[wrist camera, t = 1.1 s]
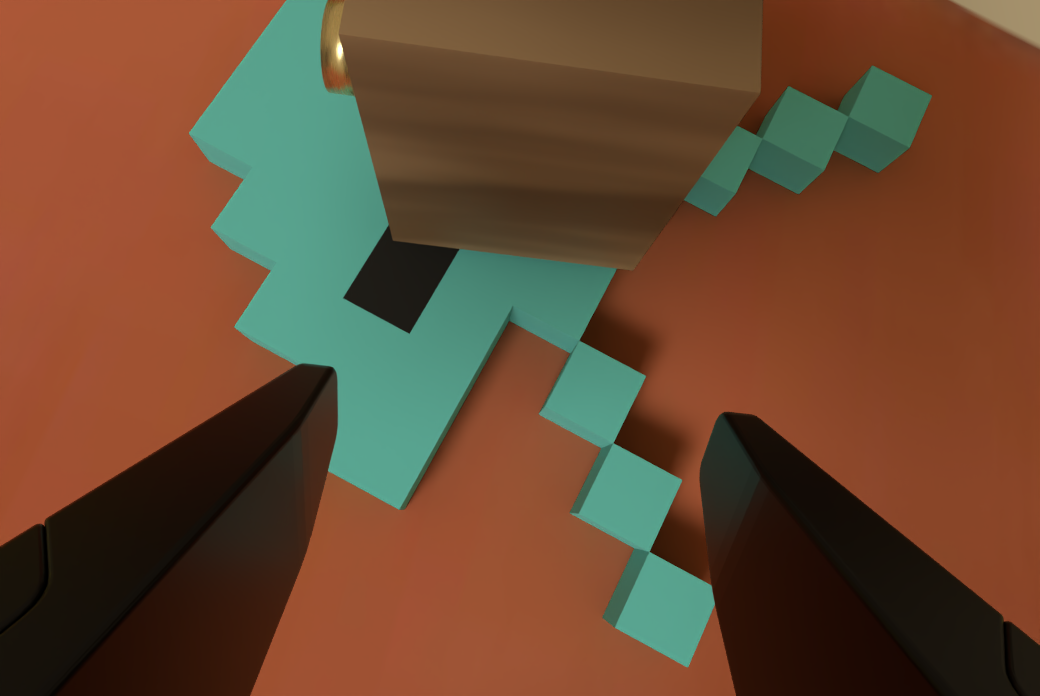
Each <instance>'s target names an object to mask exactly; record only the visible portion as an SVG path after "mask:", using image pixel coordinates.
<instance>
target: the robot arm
mask: <svg viewBox="0 0 1040 696" xmlns="http://www.w3.org/2000/svg"><path fill="white" fill-rule="evenodd" d="M337 429H338V380H337V372H336V370H335V369H334V368H333V367H331V366H325V365H316V364H308V363H301V364H298V365H296V366H295V367H293V368H291V369H290V370H288V371H286V372H285V373H283V374H282V375H280V376H278V377H277V378H275V379H273V380H272V381H270V382H268V383H267V384H265V385H264V386H262V387H260V388H259V389H257V390H255V391H254V392H252V393H250V394H249V395H247V396H246V397H244V398H242V399H241V400H239V401H237V402H236V403H234V404H232V405H231V406H229V407H228V408H226V409H224V410H223V411H221V412H219V413H218V414H216V415H214V416H213V417H211V418H210V419H208V420H206V421H205V422H203V423H201V424H200V425H198V426H197V427H195V428H193V429H192V430H190V431H188V432H187V433H185V434H183V435H182V436H180V437H179V438H177V439H175V440H174V441H172V442H170V443H169V444H167V445H165V446H164V447H162V448H161V449H159V450H157V451H156V452H154V453H152V454H151V455H149V456H147V457H146V458H144V459H143V460H141V461H139V462H138V463H136V464H134V465H133V466H131V467H129V468H128V469H126V470H125V471H123V472H121V473H120V474H118V475H116V476H115V477H113V478H112V479H110V480H108V481H107V482H105V483H103V484H102V485H100V486H98V487H97V488H95V489H94V490H92V491H90V492H89V493H87V494H85V495H84V496H82V497H80V498H79V499H77V500H76V501H74V502H72V503H71V504H69V505H67V506H66V507H64V508H62V509H61V510H59V511H58V512H56V513H54V514H53V515H51V516H49V517H48V518H46V520H45V522H44V525H45V527H44V525H42V524H36V525H34V526H33V527H31V528H29V529H28V530H26V531H24V532H23V533H21V534H19V535H18V536H16V537H15V538H13V539H11V540H10V541H8V542H6V543H5V544H3V545H1V546H0V696H250V695H251V692H252V690H253V687H254V685H255V682H256V680H257V677H258V674H259V672H260V669H261V667H262V664H263V662H264V659H265V657H266V654H267V652H268V649H269V647H270V644H271V642H272V639H273V637H274V634H275V632H276V629H277V627H278V624H279V621H280V619H281V616H282V614H283V611H284V609H285V606H286V604H287V601H288V599H289V596H290V594H291V591H292V589H293V586H294V584H295V581H296V579H297V576H298V574H299V571H300V568H301V566H302V563H303V560H304V557H305V554H306V552H307V548H308V545H309V541H310V538H311V534H312V531H313V527H314V523H315V519H316V515H317V511H318V507H319V504H320V500H321V496H322V492H323V488H324V484H325V480H326V476H327V472H328V469H329V465H330V461H331V457H332V453H333V449H334V445H335V441H336V436H337ZM700 489H701V498H702V507H703V516H704V525H705V534H706V543H707V552H708V561H709V570H710V578H711V585H712V592H713V597H714V602H715V607H716V612H717V616H718V620H719V624H720V629H721V633H722V637H723V642H724V646H725V650H726V654H727V659H728V663H729V667H730V672H731V676H732V680H733V684H734V689H735V693H736V696H1040V645H1039V644H1037V643H1036V642H1035V641H1034V640H1032V639H1031V638H1030V637H1029V636H1028V635H1026V634H1025V633H1024V632H1023V631H1021V630H1020V629H1019V628H1018V627H1017V626H1015V625H1014V624H1013V623H1012V622H1009V621H1005V622H1004V620H1003V616H1002V615H1001V614H1000V613H999V612H998V611H997V610H995V609H994V608H993V607H992V606H990V605H989V604H988V603H987V602H985V601H984V600H983V599H982V598H980V597H979V596H978V595H977V594H976V593H974V592H973V591H972V590H971V589H969V588H968V587H967V586H966V585H964V584H963V583H962V582H961V581H960V580H958V579H957V578H956V577H955V576H953V575H952V574H951V573H950V572H948V571H947V570H946V569H945V568H943V567H942V566H941V565H940V564H939V563H937V562H936V561H935V560H934V559H932V558H931V557H930V556H929V555H927V554H926V553H925V552H924V551H922V550H921V549H920V548H919V547H918V546H916V545H915V544H914V543H913V542H911V541H910V540H909V539H908V538H906V537H905V536H904V535H903V534H902V533H900V532H899V531H898V530H897V529H895V528H894V527H893V526H892V525H890V524H889V523H888V522H887V521H885V520H884V519H883V518H882V517H881V516H879V515H878V514H877V513H876V512H874V511H873V510H872V509H871V508H869V507H868V506H867V505H866V504H864V503H863V502H862V501H861V500H860V499H858V498H857V497H856V496H855V495H853V494H852V493H851V492H850V491H848V490H847V489H846V488H845V487H844V486H842V485H841V484H840V483H839V482H837V481H836V480H835V479H834V478H832V477H831V476H830V475H829V474H827V473H826V472H825V471H824V470H823V469H821V468H820V467H819V466H818V465H816V464H815V463H814V462H813V461H811V460H810V459H809V458H808V457H807V456H805V455H804V454H803V453H802V452H800V451H799V450H798V449H797V448H795V447H794V446H793V445H792V444H790V443H789V442H788V441H787V440H786V439H784V438H783V437H782V436H781V435H779V434H778V433H777V432H776V431H774V430H773V429H772V428H771V427H769V426H768V425H767V424H766V423H765V422H763V421H762V420H761V419H760V418H758V417H757V416H755V415H752V414H743V413H734V412H724V413H722V414H720V415H719V417H718V418H717V420H716V422H715V425H714V428H713V431H712V433H711V436H710V439H709V442H708V445H707V448H706V451H705V453H704V456H703V459H702V462H701V467H700Z"/></svg>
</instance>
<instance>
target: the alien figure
mask: <svg viewBox="0 0 1040 696" xmlns="http://www.w3.org/2000/svg"><path fill="white" fill-rule="evenodd" d="M327 1H328V0H286V2H285V3H284V4H283V6H282V7H281V8H280V10H279V11H278V12H277V14H276V15H275V17H274V18H273V19H272V21H271V22H270V23H269V25H268V26H267V27H266V29H265V30H264V32H263V33H262V34H261V36H260V37H259V38H258V40H257V41H256V42H255V44H254V45H253V47H252V48H251V49H250V51H249V52H248V53H247V55H246V56H245V57H244V59H243V60H242V61H241V63H240V64H239V66H238V67H237V68H236V70H235V71H234V72H233V74H232V75H231V76H230V78H229V79H228V81H227V82H226V83H225V85H224V86H223V87H222V89H221V90H220V91H219V93H218V94H217V96H216V97H215V98H214V100H213V101H212V102H211V104H210V105H209V106H208V108H207V109H206V111H205V112H204V113H203V115H202V116H201V117H200V119H199V120H198V121H197V123H196V124H195V126H194V127H193V128H192V130H191V131H190V132H189V134H190V136H191V137H192V138H193V140H194V141H195V142H196V144H197V145H198V146H199V148H200V149H201V151H202V152H203V153H204V155H205V156H206V157H207V159H208V160H209V161H210V162H212V163H214V164H216V165H218V166H219V167H221V168H223V169H225V170H227V171H229V172H231V173H233V174H234V175H236V176H238V177H240V178H242V179H244V180H243V182H242V183H241V185H240V186H239V187H238V189H237V190H236V192H235V193H234V195H233V196H232V198H231V199H230V200H229V202H228V203H227V205H226V206H225V208H224V209H223V210H222V212H221V213H220V215H219V216H218V218H217V219H216V221H215V222H214V223H213V225H212V226H211V228H212V229H213V230H214V232H215V233H216V234H217V235H218V236H219V237H220V238H221V239H222V240H223V241H224V243H225V244H226V245H227V246H228V247H229V248H230V249H232V250H233V251H235V252H237V253H239V254H241V255H243V256H245V257H246V258H248V259H250V260H252V261H254V262H256V263H258V264H260V265H261V266H263V267H265V268H267V269H269V270H271V272H270V273H269V275H268V276H267V278H266V279H265V281H264V282H263V284H262V285H261V287H260V288H259V290H258V291H257V293H256V294H255V296H254V297H253V299H252V300H251V302H250V303H249V305H248V306H247V308H246V310H245V311H244V313H243V314H242V316H241V317H240V319H239V320H238V322H237V323H236V325H235V326H234V327H235V328H236V329H237V330H238V331H240V332H241V333H242V334H244V335H245V336H246V337H247V338H249V339H250V340H251V341H253V342H255V343H256V344H258V345H260V346H262V347H264V348H266V349H268V350H269V351H271V352H273V353H275V354H277V355H279V356H280V357H282V358H284V359H286V360H288V361H290V362H292V363H293V364H295V365H298V364H301V363H308V364H316V365H325V366H331V367H333V368H334V369H335V370H336V372H337V380H338V429H337V436H336V441H335V445H334V449H333V453H332V457H331V461H330V465H329V469H328V471H329V472H331V473H333V474H335V475H337V476H338V477H340V478H342V479H344V480H346V481H348V482H349V483H351V484H353V485H355V486H357V487H359V488H360V489H362V490H364V491H366V492H368V493H370V494H371V495H373V496H375V497H377V498H379V499H381V500H382V501H384V502H386V503H388V504H390V505H391V506H393V507H395V508H397V509H399V510H404V509H405V508H406V506H407V504H408V502H409V501H410V499H411V497H412V495H413V493H414V492H415V490H416V488H417V486H418V484H419V483H420V481H421V479H422V477H423V475H424V474H425V472H426V470H427V468H428V466H429V465H430V463H431V461H432V459H433V457H434V456H435V454H436V452H437V450H438V448H439V447H440V445H441V443H442V441H443V439H444V438H445V436H446V434H447V432H448V430H449V428H450V427H451V425H452V423H453V421H454V419H455V418H456V416H457V414H458V412H459V410H460V409H461V407H462V405H463V403H464V401H465V400H466V398H467V396H468V394H469V392H470V391H471V389H472V387H473V385H474V383H475V382H476V380H477V378H478V376H479V374H480V373H481V371H482V369H483V367H484V365H485V364H486V362H487V360H488V358H489V356H490V355H491V353H492V351H493V349H494V347H495V346H496V344H497V342H498V340H499V338H500V337H501V335H502V333H503V331H504V329H505V328H506V326H507V324H508V322H509V321H510V322H512V323H514V324H516V325H518V326H520V327H522V328H524V329H526V330H527V331H529V332H531V333H533V334H535V335H537V336H539V337H541V338H542V339H544V340H546V341H548V342H550V343H552V344H554V345H556V346H557V347H559V348H561V349H563V350H565V351H567V352H569V353H570V355H569V357H568V359H567V361H566V363H565V365H564V367H563V369H562V371H561V372H560V374H559V376H558V378H557V380H556V382H555V384H554V386H553V388H552V390H551V392H550V393H549V395H548V397H547V399H546V401H545V403H544V405H543V407H542V409H541V411H540V413H539V415H541V416H543V417H544V418H546V419H548V420H550V421H552V422H554V423H556V424H557V425H559V426H561V427H563V428H565V429H567V430H569V431H571V432H572V433H574V434H576V435H578V436H580V437H582V438H584V439H585V440H587V441H589V442H591V443H593V444H595V445H597V446H598V447H600V448H601V450H600V452H599V454H598V456H597V458H596V460H595V463H594V465H593V467H592V469H591V471H590V473H589V475H588V477H587V479H586V481H585V483H584V485H583V487H582V489H581V491H580V493H579V495H578V497H577V499H576V501H575V503H574V505H573V507H572V509H571V511H570V514H572V515H574V516H576V517H578V518H580V519H581V520H583V521H585V522H587V523H589V524H591V525H592V526H594V527H596V528H598V529H600V530H602V531H604V532H605V533H607V534H609V535H611V536H613V537H615V538H616V539H618V540H620V541H622V542H624V543H626V544H628V545H629V546H631V547H633V548H634V550H633V552H632V555H631V557H630V559H629V561H628V563H627V565H626V568H625V570H624V572H623V574H622V576H621V578H620V580H619V583H618V585H617V587H616V589H615V591H614V593H613V596H612V598H611V600H610V602H609V604H608V606H607V608H606V611H605V613H604V615H603V617H602V618H603V619H605V620H606V621H607V622H608V623H610V624H611V625H612V626H613V627H615V628H616V629H618V630H620V631H622V632H624V633H626V634H627V635H629V636H631V637H633V638H635V639H637V640H638V641H640V642H642V643H644V644H646V645H647V646H649V647H651V648H653V649H655V650H657V651H658V652H660V653H662V654H664V655H666V656H668V657H669V658H671V659H673V660H675V661H677V662H679V663H680V664H682V665H684V666H686V667H688V666H689V664H690V661H691V659H692V657H693V654H694V652H695V650H696V647H697V645H698V643H699V640H700V638H701V636H702V633H703V631H704V629H705V626H706V624H707V622H708V619H709V617H710V615H711V612H712V610H713V608H714V605H715V602H714V597H713V592H712V586H711V585H710V584H708V583H706V582H704V581H702V580H700V579H698V578H697V577H695V576H693V575H691V574H689V573H687V572H686V571H684V570H682V569H680V568H678V567H676V566H674V565H673V564H671V563H669V562H667V561H665V560H663V559H662V558H660V557H658V556H656V555H654V554H652V553H650V550H651V547H652V545H653V543H654V541H655V539H656V537H657V534H658V532H659V530H660V528H661V526H662V523H663V521H664V519H665V517H666V515H667V513H668V510H669V508H670V506H671V504H672V502H673V499H674V497H675V495H676V493H677V491H678V489H679V486H680V484H681V482H682V480H681V479H679V478H677V477H675V476H674V475H672V474H670V473H668V472H666V471H664V470H662V469H661V468H659V467H657V466H655V465H653V464H651V463H649V462H647V461H646V460H644V459H642V458H640V457H638V456H636V455H634V454H633V453H631V452H629V451H627V450H625V449H623V448H621V447H620V446H618V445H616V444H614V441H615V439H616V437H617V435H618V433H619V431H620V429H621V427H622V424H623V422H624V420H625V418H626V416H627V414H628V412H629V410H630V408H631V406H632V404H633V402H634V400H635V398H636V396H637V394H638V392H639V390H640V388H641V386H642V384H643V382H644V380H645V378H646V376H645V375H643V374H641V373H639V372H637V371H635V370H634V369H632V368H630V367H628V366H626V365H624V364H622V363H620V362H618V361H617V360H615V359H613V358H611V357H609V356H607V355H605V354H603V353H602V352H600V351H598V350H596V349H594V348H592V347H590V346H588V345H586V344H585V343H583V342H581V341H579V340H580V338H581V336H582V335H583V333H584V331H585V329H586V327H587V325H588V323H589V321H590V319H591V317H592V315H593V314H594V312H595V310H596V308H597V306H598V304H599V302H600V300H601V298H602V296H603V294H604V292H605V291H606V289H607V287H608V285H609V283H610V281H611V279H612V277H613V275H614V273H615V271H616V270H617V268H609V267H600V266H592V265H584V264H576V263H568V262H560V261H552V260H544V259H536V258H528V257H520V256H512V255H504V254H496V253H488V252H480V251H472V250H464V249H456V248H448V247H440V246H432V245H424V244H416V243H408V242H400V241H393V239H392V235H391V231H390V227H389V223H388V220H387V216H386V212H385V208H384V205H383V201H382V197H381V193H380V189H379V186H378V182H377V178H376V174H375V170H374V167H373V163H372V159H371V155H370V151H369V148H368V144H367V140H366V136H365V133H364V129H363V125H362V121H361V117H360V114H359V110H358V106H357V102H356V98H355V96H349V95H341V94H334V93H329V92H328V91H327V90H326V88H325V85H324V81H323V76H322V69H321V55H320V42H321V27H322V19H323V14H324V9H325V6H326V3H327ZM931 97H932V95H930V94H928V93H926V92H924V91H922V90H920V89H918V88H916V87H914V86H912V85H910V84H908V83H906V82H904V81H902V80H900V79H898V78H896V77H894V76H892V75H890V74H888V73H886V72H884V71H882V70H880V69H878V68H876V67H875V66H873V65H872V66H871V68H870V69H869V70H868V71H867V72H866V73H865V74H864V75H863V76H862V77H861V78H860V79H859V81H858V82H857V83H856V84H855V85H854V86H853V87H852V88H851V89H850V90H849V91H848V92H847V93H846V95H845V96H844V98H843V100H842V102H841V104H840V106H839V108H838V111H837V110H835V109H833V108H831V107H829V106H827V105H825V104H823V103H821V102H819V101H817V100H815V99H813V98H811V97H809V96H807V95H805V94H803V93H801V92H799V91H797V90H795V89H793V88H791V87H790V86H788V87H787V89H786V90H785V91H784V92H783V94H782V95H781V96H780V98H779V99H778V100H777V102H776V103H775V104H774V105H773V107H772V108H771V109H770V111H769V112H768V113H767V115H766V116H765V118H764V120H763V122H762V124H761V126H760V128H759V130H758V132H757V134H756V135H754V134H752V133H750V132H748V131H747V130H745V129H743V128H741V127H739V126H737V127H736V128H735V129H734V131H733V132H732V134H731V135H730V136H729V138H728V139H727V141H726V142H725V143H724V145H723V146H722V148H721V149H720V150H719V152H718V153H717V154H716V156H715V157H714V159H713V160H712V161H711V163H710V164H709V166H708V167H707V168H706V170H705V171H704V173H703V174H702V175H701V177H700V178H699V180H698V181H697V182H696V184H695V185H694V186H693V188H692V189H691V191H690V192H689V193H688V195H687V196H686V198H685V199H684V200H685V201H687V202H689V203H691V204H692V205H694V206H696V207H698V208H700V209H702V210H704V211H706V212H708V213H710V214H712V215H714V216H717V215H718V214H719V212H720V211H721V210H722V209H723V208H724V207H725V206H726V204H727V203H728V202H729V201H730V200H731V199H732V197H733V196H734V195H735V194H736V192H737V190H738V188H739V186H740V184H741V182H742V180H743V178H744V176H745V174H746V172H747V170H748V169H750V170H752V171H754V172H756V173H758V174H760V175H762V176H764V177H766V178H768V179H770V180H772V181H773V182H775V183H777V184H779V185H781V186H783V187H785V188H787V189H789V190H791V191H793V192H795V193H797V194H800V193H801V192H802V191H803V190H804V189H805V188H806V187H807V186H808V185H809V184H810V183H811V182H812V181H814V180H815V179H816V178H817V177H818V176H819V175H820V174H821V173H822V172H823V171H824V170H825V168H826V166H827V163H828V161H829V159H830V157H831V155H832V153H833V150H834V151H836V152H838V153H840V154H842V155H844V156H846V157H848V158H850V159H852V160H854V161H856V162H858V163H860V164H862V165H864V166H866V167H867V168H869V169H871V170H873V171H875V172H877V173H879V172H880V171H882V170H883V169H884V168H885V167H887V166H888V165H889V164H890V163H891V162H893V161H894V160H895V159H896V158H898V157H899V156H900V155H901V154H903V153H904V152H905V151H906V150H908V149H909V148H910V146H911V144H912V141H913V139H914V137H915V134H916V132H917V130H918V127H919V125H920V123H921V120H922V118H923V116H924V113H925V111H926V109H927V106H928V104H929V102H930V99H931Z"/></svg>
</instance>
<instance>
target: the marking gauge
mask: <svg viewBox="0 0 1040 696" xmlns="http://www.w3.org/2000/svg"><path fill="white" fill-rule="evenodd" d="M762 22H763V0H328V1H327V3H326V6H325V9H324V14H323V19H322V27H321V42H320V55H321V69H322V76H323V81H324V85H325V88H326V90H327V91H328V92H329V93H334V94H341V95H349V96H355V98H356V102H357V106H358V110H359V114H360V117H361V121H362V125H363V129H364V133H365V136H366V140H367V144H368V148H369V151H370V155H371V159H372V163H373V167H374V170H375V174H376V178H377V182H378V186H379V189H380V193H381V197H382V201H383V205H384V208H385V212H386V216H387V220H388V223H389V227H390V231H391V235H392V239H393V241H400V242H408V243H416V244H424V245H432V246H440V247H448V248H456V249H464V250H472V251H480V252H488V253H496V254H504V255H512V256H520V257H528V258H536V259H544V260H552V261H560V262H568V263H576V264H584V265H592V266H600V267H609V268H617V269H625V270H634V269H635V267H636V266H637V264H638V263H639V262H640V260H641V259H642V257H643V256H644V255H645V253H646V252H647V250H648V249H649V248H650V246H651V245H652V244H653V242H654V241H655V239H656V238H657V237H658V235H659V234H660V232H661V231H662V230H663V228H664V227H665V225H666V224H667V223H668V221H669V220H670V218H671V217H672V216H673V214H674V213H675V212H676V210H677V209H678V207H679V206H680V205H681V203H682V202H683V200H684V199H685V198H686V196H687V195H688V193H689V192H690V191H691V189H692V188H693V186H694V185H695V184H696V182H697V181H698V180H699V178H700V177H701V175H702V174H703V173H704V171H705V170H706V168H707V167H708V166H709V164H710V163H711V161H712V160H713V159H714V157H715V156H716V154H717V153H718V152H719V150H720V149H721V148H722V146H723V145H724V143H725V142H726V141H727V139H728V138H729V136H730V135H731V134H732V132H733V131H734V129H735V128H736V127H737V125H738V124H739V122H740V121H741V120H742V118H743V117H744V116H745V114H746V113H747V111H748V110H749V109H750V107H751V106H752V104H753V103H754V102H755V100H756V99H757V97H758V96H759V95H760V93H761V61H762Z"/></svg>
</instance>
